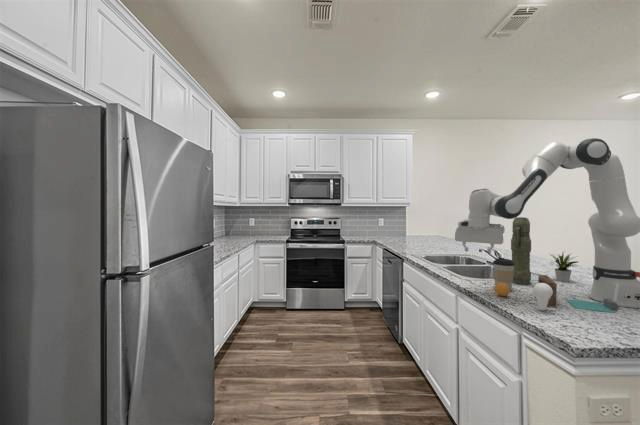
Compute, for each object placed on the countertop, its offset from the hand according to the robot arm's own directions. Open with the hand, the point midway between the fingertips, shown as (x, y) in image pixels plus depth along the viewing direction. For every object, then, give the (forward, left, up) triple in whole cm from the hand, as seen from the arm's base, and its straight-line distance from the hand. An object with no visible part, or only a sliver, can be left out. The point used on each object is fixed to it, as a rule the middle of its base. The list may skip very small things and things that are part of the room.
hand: (477, 252), depth 136 cm
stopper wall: (-47, +1, -20) cm, 51 cm away
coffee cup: (-12, -12, -20) cm, 26 cm away
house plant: (-42, -42, -20) cm, 63 cm away
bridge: (-26, +1, -20) cm, 33 cm away
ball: (-10, +1, -17) cm, 19 cm away
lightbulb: (-22, +15, -20) cm, 33 cm away
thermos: (-22, -29, -20) cm, 41 cm away
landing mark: (-40, +1, -20) cm, 45 cm away
